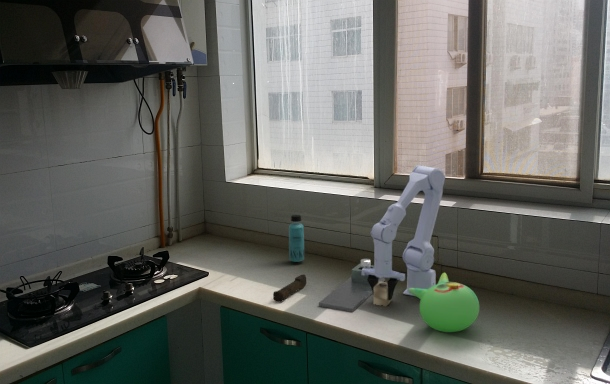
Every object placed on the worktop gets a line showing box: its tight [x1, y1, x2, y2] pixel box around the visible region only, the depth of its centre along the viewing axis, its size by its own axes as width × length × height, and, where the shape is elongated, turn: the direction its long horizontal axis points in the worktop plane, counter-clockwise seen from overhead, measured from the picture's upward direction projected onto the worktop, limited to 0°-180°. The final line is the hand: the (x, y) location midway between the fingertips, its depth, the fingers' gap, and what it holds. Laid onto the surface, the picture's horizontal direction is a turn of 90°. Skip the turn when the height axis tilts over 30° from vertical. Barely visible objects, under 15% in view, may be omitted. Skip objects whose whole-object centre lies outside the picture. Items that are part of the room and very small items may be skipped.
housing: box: [373, 281, 393, 307], centre depth 187 cm, size 4×6×6 cm
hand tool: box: [272, 274, 307, 303], centre depth 197 cm, size 19×4×5 cm, turn 147°
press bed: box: [318, 263, 386, 313], centre depth 195 cm, size 12×31×6 cm, turn 153°
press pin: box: [360, 258, 372, 270], centre depth 205 cm, size 4×4×4 cm
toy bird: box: [408, 272, 480, 333], centre depth 165 cm, size 18×17×15 cm
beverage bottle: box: [288, 214, 305, 263], centre depth 228 cm, size 6×7×20 cm
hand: (382, 298), depth 187 cm, fingers closed on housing, 4 cm apart
